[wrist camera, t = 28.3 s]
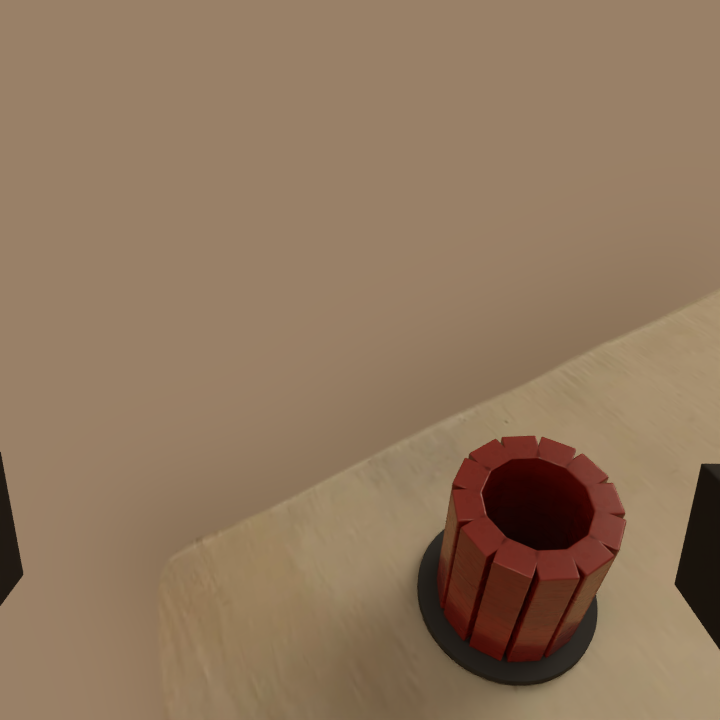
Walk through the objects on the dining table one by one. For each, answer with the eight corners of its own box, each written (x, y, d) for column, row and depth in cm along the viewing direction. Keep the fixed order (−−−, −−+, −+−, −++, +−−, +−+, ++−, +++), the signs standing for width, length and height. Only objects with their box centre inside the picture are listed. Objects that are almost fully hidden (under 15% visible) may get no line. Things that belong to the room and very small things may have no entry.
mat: (429, 690, 30) (430, 687, 30) (408, 521, 37) (409, 516, 36) (620, 680, 30) (623, 676, 30) (566, 514, 37) (568, 509, 37)
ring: (448, 666, 30) (468, 584, 25) (429, 531, 36) (442, 438, 30) (598, 658, 31) (651, 575, 25) (557, 526, 36) (594, 432, 30)
